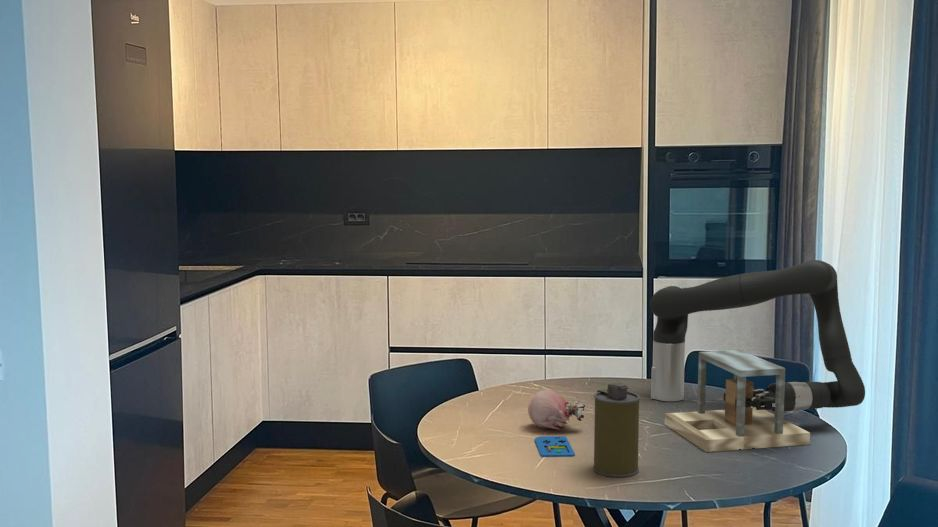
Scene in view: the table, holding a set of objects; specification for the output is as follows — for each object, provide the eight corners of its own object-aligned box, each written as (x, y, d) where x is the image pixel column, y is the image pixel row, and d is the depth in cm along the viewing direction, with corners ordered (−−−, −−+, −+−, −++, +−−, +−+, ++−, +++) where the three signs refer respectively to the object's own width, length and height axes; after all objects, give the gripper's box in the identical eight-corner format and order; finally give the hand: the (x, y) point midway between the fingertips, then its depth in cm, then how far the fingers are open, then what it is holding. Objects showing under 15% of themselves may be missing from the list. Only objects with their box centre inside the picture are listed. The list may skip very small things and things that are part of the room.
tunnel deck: (705, 452, 224) (707, 373, 222) (664, 424, 247) (666, 352, 245) (809, 444, 230) (812, 367, 228) (759, 418, 253) (762, 348, 251)
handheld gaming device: (565, 434, 236) (575, 453, 221) (565, 439, 236) (575, 458, 221) (533, 435, 235) (541, 454, 220) (533, 439, 235) (541, 458, 221)
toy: (588, 417, 249) (533, 410, 253) (589, 383, 245) (533, 377, 248) (581, 443, 239) (524, 435, 242) (581, 408, 234) (524, 401, 238)
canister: (648, 471, 210) (650, 385, 208) (613, 480, 204) (615, 392, 202) (616, 459, 219) (617, 376, 217) (582, 467, 213) (583, 382, 211)
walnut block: (734, 425, 235) (735, 383, 234) (724, 420, 240) (726, 379, 239) (752, 424, 236) (753, 382, 235) (742, 419, 241) (743, 378, 240)
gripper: (775, 376, 247) (717, 379, 244) (805, 389, 233) (744, 393, 230) (774, 403, 248) (716, 407, 244) (804, 418, 234) (743, 422, 231)
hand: (730, 400), depth 237 cm, fingers open, 5 cm apart
